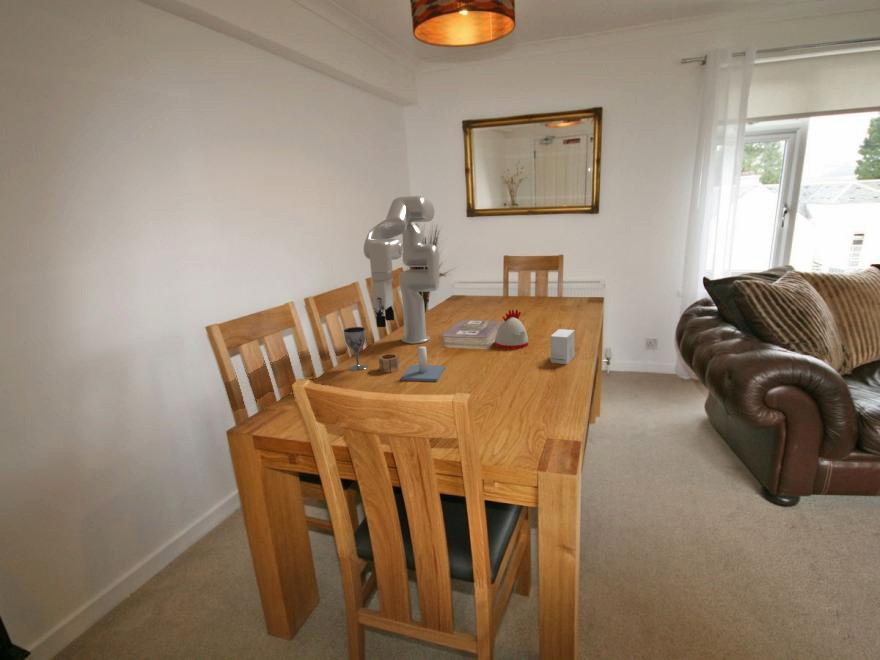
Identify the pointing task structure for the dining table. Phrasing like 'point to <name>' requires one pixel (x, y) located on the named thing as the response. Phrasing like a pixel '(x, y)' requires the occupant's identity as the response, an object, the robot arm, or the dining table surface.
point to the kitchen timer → (511, 332)
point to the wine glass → (355, 344)
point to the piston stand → (423, 369)
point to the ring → (389, 363)
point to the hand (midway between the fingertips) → (385, 323)
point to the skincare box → (562, 346)
